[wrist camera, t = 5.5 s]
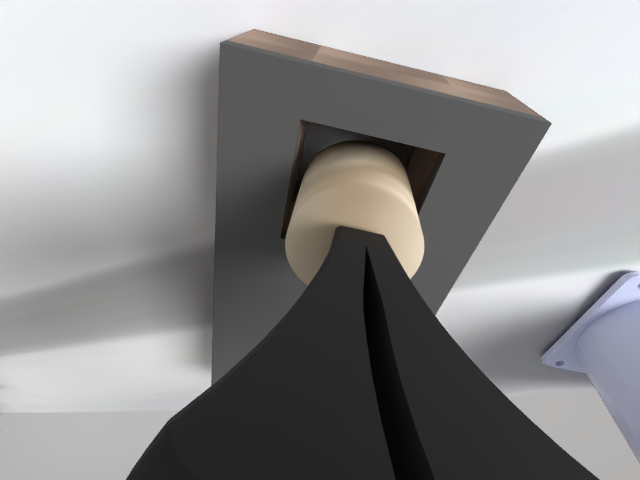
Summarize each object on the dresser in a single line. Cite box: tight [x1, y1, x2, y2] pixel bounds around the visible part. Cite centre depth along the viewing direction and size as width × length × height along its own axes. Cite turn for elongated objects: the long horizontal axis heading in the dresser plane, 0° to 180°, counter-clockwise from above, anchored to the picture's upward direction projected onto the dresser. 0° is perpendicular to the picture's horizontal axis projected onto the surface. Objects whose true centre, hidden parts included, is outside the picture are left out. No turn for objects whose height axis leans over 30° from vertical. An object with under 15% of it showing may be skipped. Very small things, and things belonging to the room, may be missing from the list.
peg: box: [285, 140, 424, 285], centre depth 11 cm, size 4×4×4 cm
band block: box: [211, 29, 552, 386], centre depth 18 cm, size 10×21×4 cm, turn 168°
